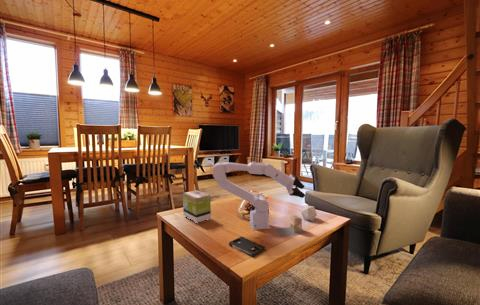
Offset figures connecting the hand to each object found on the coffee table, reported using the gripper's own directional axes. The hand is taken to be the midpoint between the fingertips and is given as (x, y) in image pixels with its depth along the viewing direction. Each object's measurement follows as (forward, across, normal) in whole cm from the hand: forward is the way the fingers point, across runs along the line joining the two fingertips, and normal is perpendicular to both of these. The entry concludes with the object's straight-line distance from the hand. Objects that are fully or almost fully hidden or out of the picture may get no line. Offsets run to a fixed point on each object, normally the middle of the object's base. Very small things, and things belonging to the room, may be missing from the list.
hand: (303, 191), depth 121 cm
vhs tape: (-17, -35, +20) cm, 43 cm away
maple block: (+4, -15, +13) cm, 20 cm away
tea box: (-39, -9, +48) cm, 63 cm away
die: (+15, +1, +14) cm, 21 cm away
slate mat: (+2, -16, +14) cm, 22 cm away
